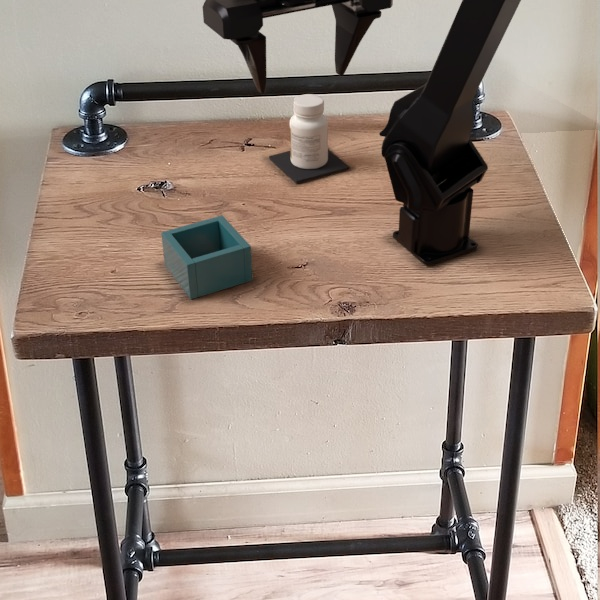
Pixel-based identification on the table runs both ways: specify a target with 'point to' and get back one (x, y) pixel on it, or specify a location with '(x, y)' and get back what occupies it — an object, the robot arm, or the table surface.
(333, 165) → the mat
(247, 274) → the holder
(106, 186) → the table surface
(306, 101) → the pill bottle
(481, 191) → the table surface
